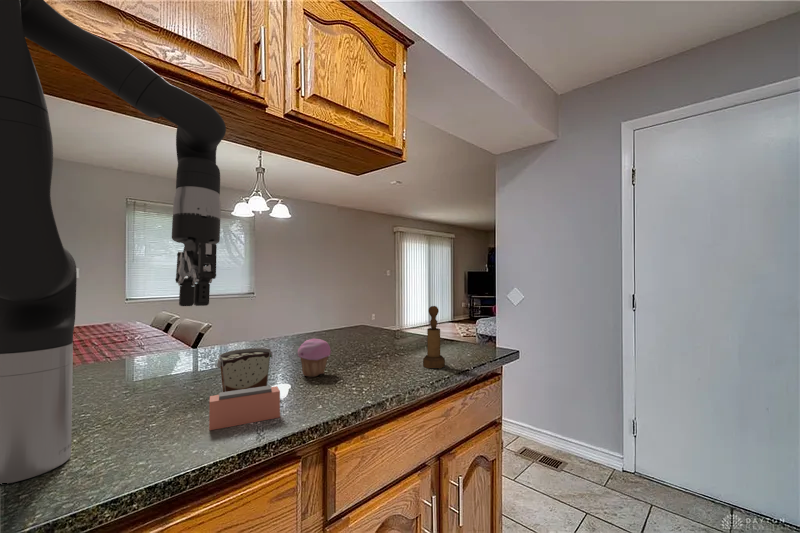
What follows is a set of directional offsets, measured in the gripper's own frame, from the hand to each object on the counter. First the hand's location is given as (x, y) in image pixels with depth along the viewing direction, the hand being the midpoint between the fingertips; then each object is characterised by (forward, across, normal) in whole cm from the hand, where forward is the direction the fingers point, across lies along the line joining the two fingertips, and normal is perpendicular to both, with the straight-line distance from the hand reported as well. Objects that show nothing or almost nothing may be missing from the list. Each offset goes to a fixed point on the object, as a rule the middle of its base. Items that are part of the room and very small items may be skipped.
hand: (193, 305), depth 62 cm
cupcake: (+20, -16, +35) cm, 44 cm away
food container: (+21, -15, +15) cm, 30 cm away
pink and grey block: (+22, 0, +10) cm, 24 cm away
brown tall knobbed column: (+19, +2, +65) cm, 68 cm away
